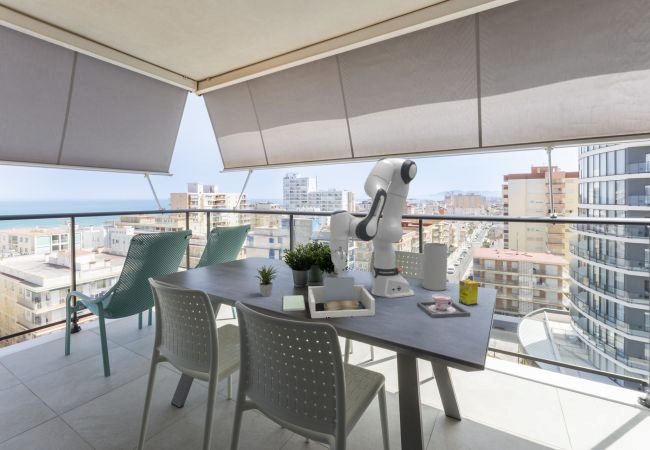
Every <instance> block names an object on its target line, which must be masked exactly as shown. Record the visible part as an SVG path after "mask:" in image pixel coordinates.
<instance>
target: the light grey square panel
mask: <svg viewBox="0 0 650 450" xmlns="http://www.w3.org/2000/svg"><path fill="white" fill-rule="evenodd" d="M354 285H355V278H354V276H342V278H338V276H337V277H323V286H324V303H323V308H324V310H325V302H333V301H348V300H354Z"/></svg>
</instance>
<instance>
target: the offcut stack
mask: <svg viewBox="0 0 650 450" xmlns="http://www.w3.org/2000/svg"><path fill="white" fill-rule="evenodd" d="M358 308H360V303H359V302H357V301H356V300H348V301H333V302H325V309H324V311H339V310H358Z"/></svg>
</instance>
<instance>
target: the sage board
mask: <svg viewBox="0 0 650 450" xmlns="http://www.w3.org/2000/svg"><path fill="white" fill-rule="evenodd" d="M282 301H283V303H282V304H283V305H282V312H292V311H293V312H294V311H295V312H297V311H306V306H305V298H304V295H303V294H302V295H283V299H282Z"/></svg>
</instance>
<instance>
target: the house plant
mask: <svg viewBox="0 0 650 450" xmlns="http://www.w3.org/2000/svg"><path fill="white" fill-rule="evenodd" d="M274 268H275V266H272V265H270V266H269V267H268V268H266V265H265V264H264V265H263V266H261V268H260V269H261V270H259V269H258V268H256V271H257V273H258V274H259V275H260V276H261V277H260V276H258V275H255V276H254V278H257V279H259V290H260V295H261V296H262V297H270V296H271V295H272V292H273V284H274V283H273V282H272V280H275V278H278V277H277V276H278V275H277V274H276V273H277V270H278V269H280V267H279V268H275V269H274ZM273 274H276V275H273ZM275 281H276V280H275Z"/></svg>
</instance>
